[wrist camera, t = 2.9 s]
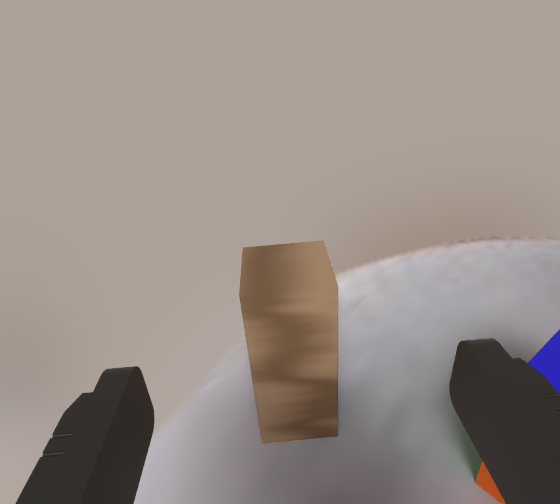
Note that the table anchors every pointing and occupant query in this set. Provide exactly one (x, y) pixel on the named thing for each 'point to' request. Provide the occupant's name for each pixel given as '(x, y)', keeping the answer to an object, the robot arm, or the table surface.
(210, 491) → the table surface
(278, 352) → the pillar
